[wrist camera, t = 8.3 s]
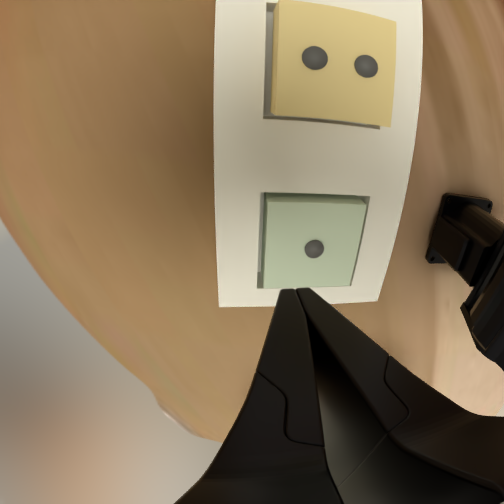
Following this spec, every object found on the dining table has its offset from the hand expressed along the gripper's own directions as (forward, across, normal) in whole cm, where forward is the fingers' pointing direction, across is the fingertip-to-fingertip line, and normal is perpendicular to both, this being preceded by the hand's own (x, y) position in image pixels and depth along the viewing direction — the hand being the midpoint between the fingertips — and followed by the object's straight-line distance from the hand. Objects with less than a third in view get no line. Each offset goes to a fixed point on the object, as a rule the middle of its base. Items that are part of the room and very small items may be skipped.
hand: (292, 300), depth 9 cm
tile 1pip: (+12, -3, +4) cm, 13 cm away
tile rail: (+13, -4, -7) cm, 15 cm away
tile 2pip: (+10, -4, -7) cm, 13 cm away
